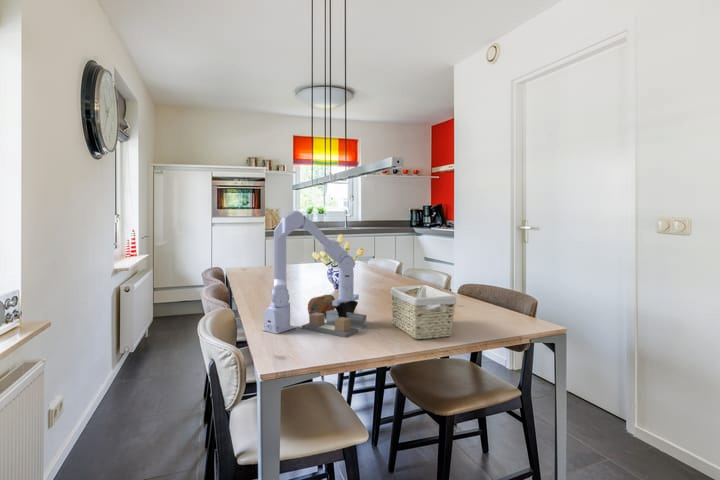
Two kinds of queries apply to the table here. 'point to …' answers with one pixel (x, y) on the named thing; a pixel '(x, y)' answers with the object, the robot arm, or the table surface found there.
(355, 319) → the beam
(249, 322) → the table surface
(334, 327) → the gate base
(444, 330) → the storage basket
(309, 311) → the tin
